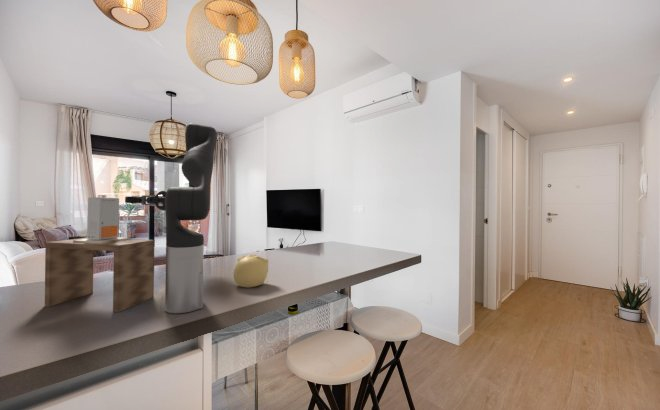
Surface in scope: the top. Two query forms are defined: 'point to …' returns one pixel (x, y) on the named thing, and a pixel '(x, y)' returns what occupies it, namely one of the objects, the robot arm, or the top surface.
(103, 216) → the skincare box
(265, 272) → the yellow rounded lump
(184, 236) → the robot arm
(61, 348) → the top surface
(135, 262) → the shelf nook
